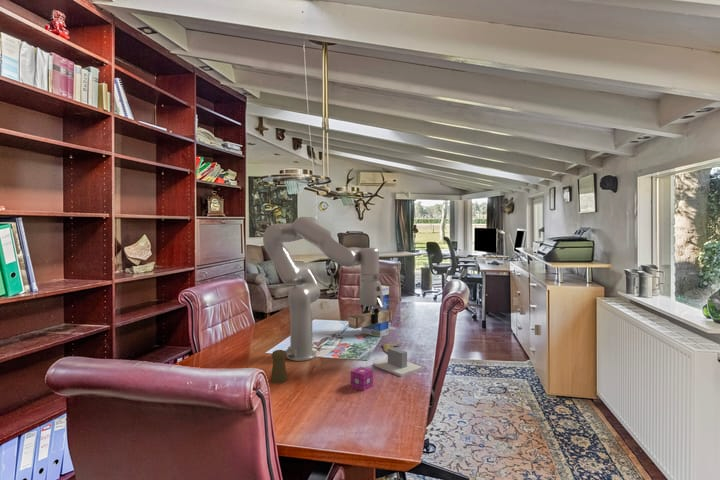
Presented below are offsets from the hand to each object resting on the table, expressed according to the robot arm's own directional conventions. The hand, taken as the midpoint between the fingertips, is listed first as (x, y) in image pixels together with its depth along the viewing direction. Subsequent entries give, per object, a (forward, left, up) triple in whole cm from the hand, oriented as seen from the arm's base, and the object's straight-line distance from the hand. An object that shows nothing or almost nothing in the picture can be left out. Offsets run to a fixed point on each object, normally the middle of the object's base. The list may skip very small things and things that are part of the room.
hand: (370, 322), depth 158 cm
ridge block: (+7, -9, -18) cm, 21 cm away
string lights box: (+33, +33, -18) cm, 50 cm away
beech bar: (0, 0, -1) cm, 1 cm away
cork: (-36, +10, -18) cm, 42 cm away
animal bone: (+19, +5, -18) cm, 27 cm away
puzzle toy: (-16, -14, -18) cm, 28 cm away
